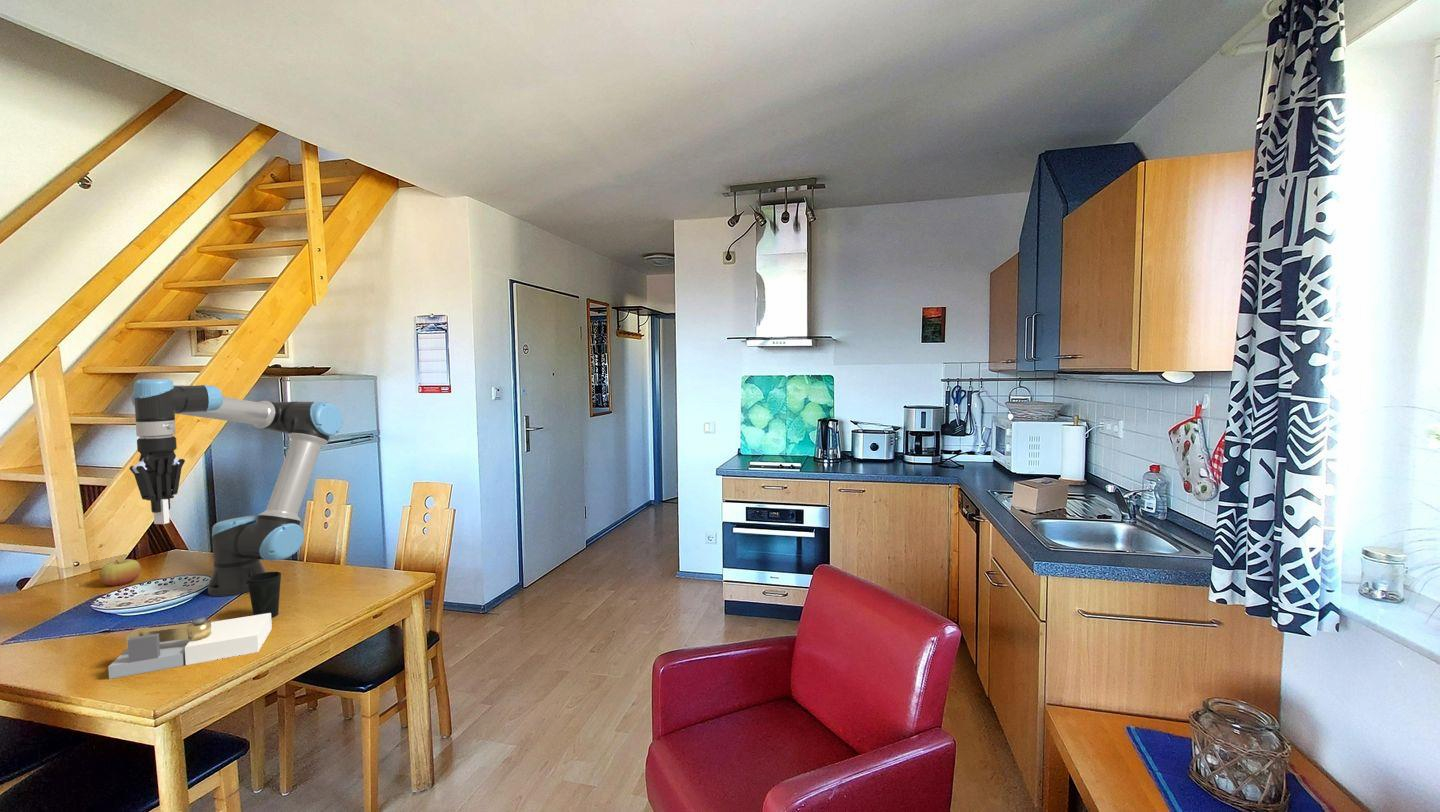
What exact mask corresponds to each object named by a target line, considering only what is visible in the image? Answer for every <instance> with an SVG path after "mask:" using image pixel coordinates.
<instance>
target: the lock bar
mask: <svg viewBox="0 0 1440 812" xmlns="http://www.w3.org/2000/svg"><path fill="white" fill-rule="evenodd" d="M211 622H212V621H211V620H209V619H208V620H207V619H205V622H204V623H202V624H198V625H193V624H192V622H191V623H189V622H188V623H183V624H182V623H181V624H174V625H165V626H159V627H158V626H157V627H156V626H155V627H147V626H146V627H138V628H135V629H133V630H132V631H131V632H129V633H128V634H127V635H125V639H126V649H127V648H128V640H129V639H130V638H132V637H139V636H145V635H151V634H158V633H159V642H167V641H175V640H182V639H190V640H194V639H200V638H204V637H206V636H208V635H210V634H211Z"/></svg>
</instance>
